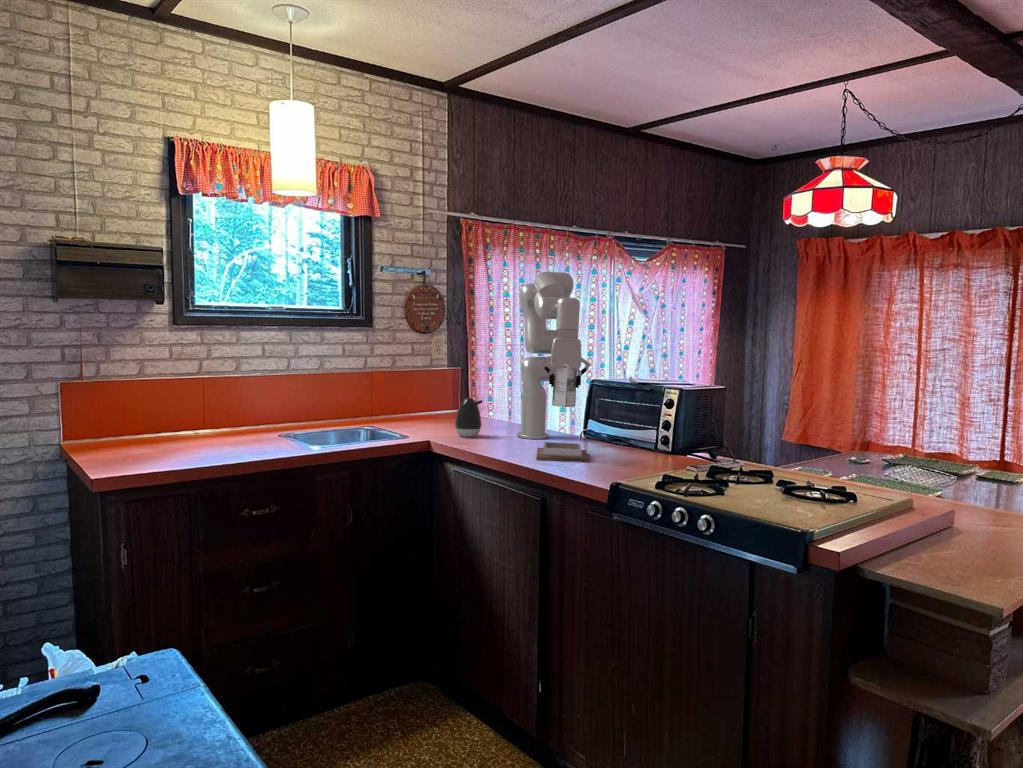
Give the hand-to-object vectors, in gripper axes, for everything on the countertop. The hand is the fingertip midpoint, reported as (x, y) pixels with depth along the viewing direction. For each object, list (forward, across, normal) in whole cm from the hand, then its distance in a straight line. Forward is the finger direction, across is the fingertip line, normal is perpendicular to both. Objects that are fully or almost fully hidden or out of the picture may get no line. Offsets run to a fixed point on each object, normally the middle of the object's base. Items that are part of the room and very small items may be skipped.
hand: (564, 386), depth 249 cm
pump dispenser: (+24, -36, +35) cm, 56 cm away
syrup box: (+7, 0, 0) cm, 7 cm away
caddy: (+24, 0, 0) cm, 24 cm away
